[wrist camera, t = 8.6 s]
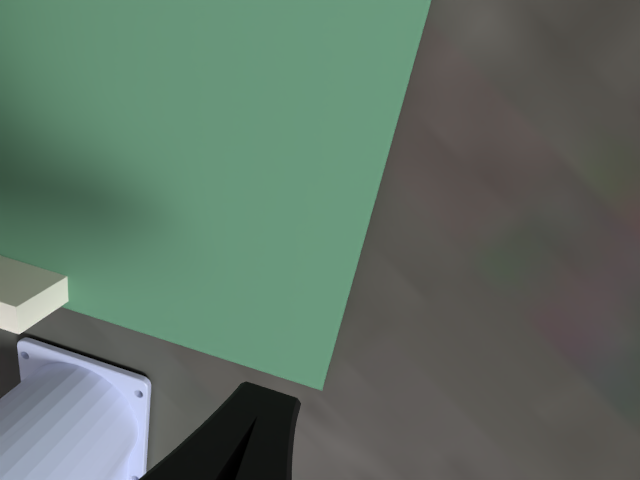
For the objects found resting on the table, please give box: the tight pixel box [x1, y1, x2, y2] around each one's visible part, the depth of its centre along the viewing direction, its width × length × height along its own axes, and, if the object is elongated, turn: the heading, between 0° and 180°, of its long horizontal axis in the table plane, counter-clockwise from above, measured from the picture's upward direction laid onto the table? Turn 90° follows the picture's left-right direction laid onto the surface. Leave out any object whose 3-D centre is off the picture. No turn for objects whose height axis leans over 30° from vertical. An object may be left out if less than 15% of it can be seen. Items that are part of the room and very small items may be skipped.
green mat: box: [0, 0, 431, 390], centre depth 17 cm, size 24×26×1 cm
